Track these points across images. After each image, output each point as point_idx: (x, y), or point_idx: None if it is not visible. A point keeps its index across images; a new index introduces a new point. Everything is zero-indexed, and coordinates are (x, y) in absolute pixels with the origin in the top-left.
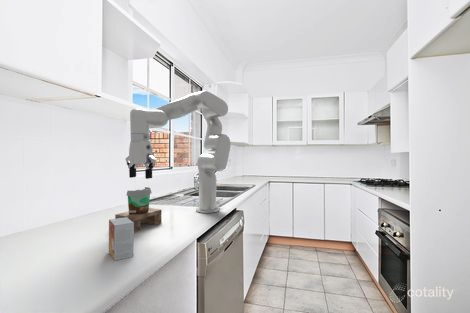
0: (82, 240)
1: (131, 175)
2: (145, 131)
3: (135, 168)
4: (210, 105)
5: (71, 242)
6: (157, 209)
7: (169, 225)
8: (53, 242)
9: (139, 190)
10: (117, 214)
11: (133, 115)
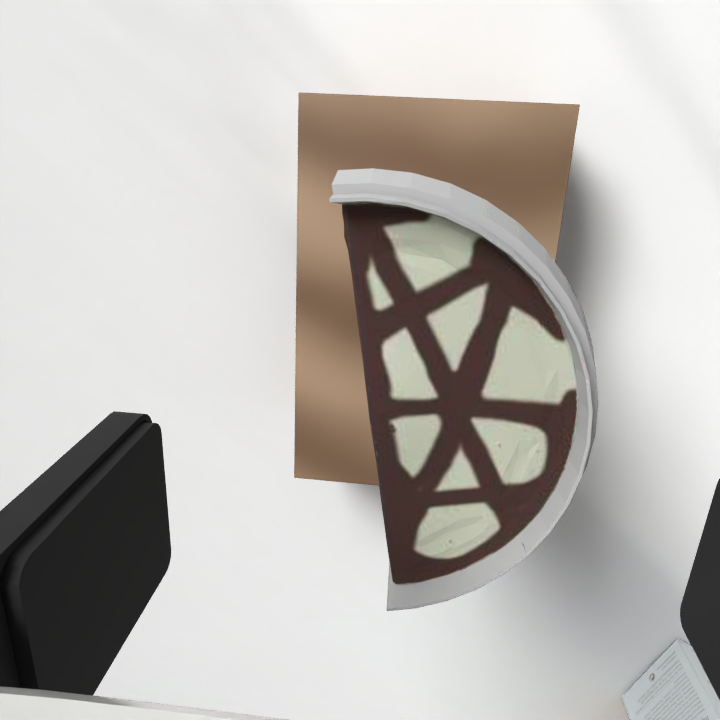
0: (335, 630)
1: (153, 575)
2: None
3: (23, 594)
4: None
5: (312, 664)
6: (528, 125)
7: (677, 151)
8: (231, 689)
9: (541, 540)
10: (311, 470)
11: None
